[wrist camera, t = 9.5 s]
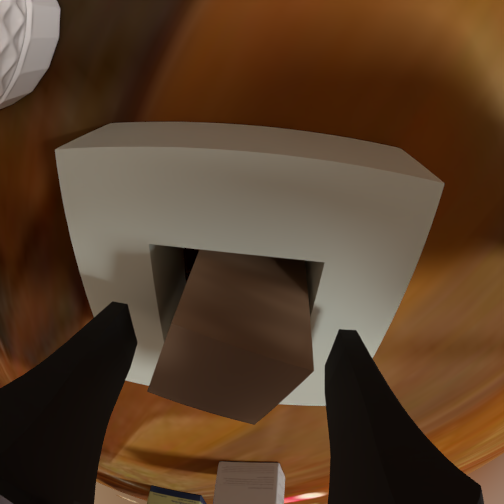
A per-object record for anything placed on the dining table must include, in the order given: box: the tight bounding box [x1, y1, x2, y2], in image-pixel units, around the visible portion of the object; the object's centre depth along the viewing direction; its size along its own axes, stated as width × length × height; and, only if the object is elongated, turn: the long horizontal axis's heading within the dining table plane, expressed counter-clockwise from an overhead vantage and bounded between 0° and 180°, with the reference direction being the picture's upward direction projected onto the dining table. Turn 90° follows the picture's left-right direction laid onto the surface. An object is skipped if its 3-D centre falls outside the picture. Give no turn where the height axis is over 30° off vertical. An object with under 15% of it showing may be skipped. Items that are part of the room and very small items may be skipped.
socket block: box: [55, 122, 445, 406], centre depth 13 cm, size 12×12×4 cm
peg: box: [148, 249, 314, 425], centre depth 12 cm, size 4×4×7 cm
